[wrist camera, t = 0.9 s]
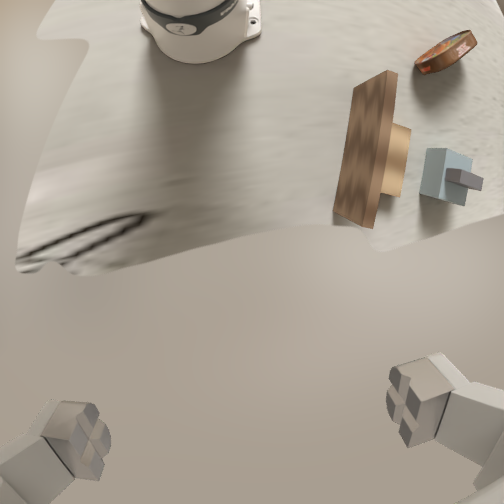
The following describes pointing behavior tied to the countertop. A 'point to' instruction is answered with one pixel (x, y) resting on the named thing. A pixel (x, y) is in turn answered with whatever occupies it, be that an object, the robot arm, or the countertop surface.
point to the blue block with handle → (448, 176)
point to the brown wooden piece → (371, 151)
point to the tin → (446, 52)
